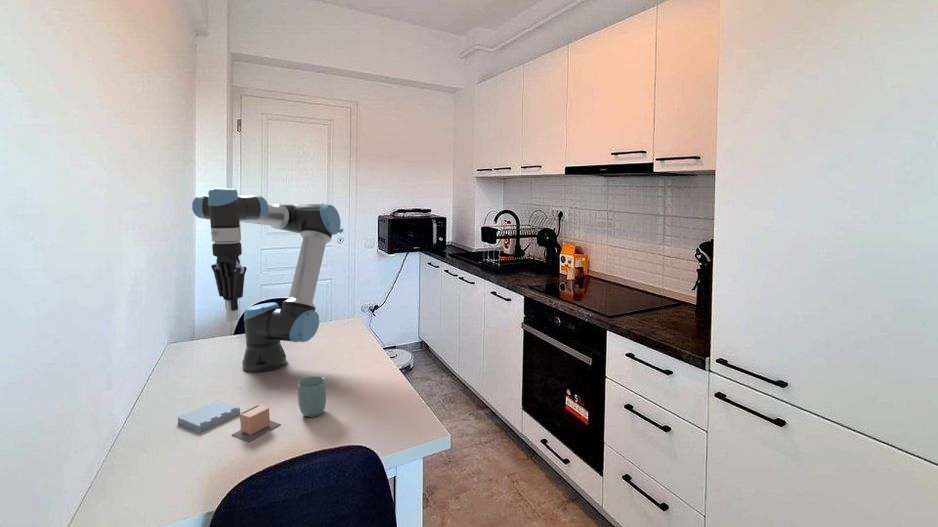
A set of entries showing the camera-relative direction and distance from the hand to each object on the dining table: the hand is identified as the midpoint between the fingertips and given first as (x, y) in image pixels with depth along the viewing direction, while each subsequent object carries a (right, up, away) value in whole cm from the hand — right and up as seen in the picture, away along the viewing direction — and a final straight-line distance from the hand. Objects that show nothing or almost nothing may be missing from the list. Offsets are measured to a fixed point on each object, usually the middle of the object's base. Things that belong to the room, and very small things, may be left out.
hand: (232, 320), depth 134 cm
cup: (+25, -27, -2) cm, 37 cm away
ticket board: (-4, -27, -5) cm, 28 cm away
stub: (+12, -29, -11) cm, 33 cm away
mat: (+13, -29, -11) cm, 33 cm away
